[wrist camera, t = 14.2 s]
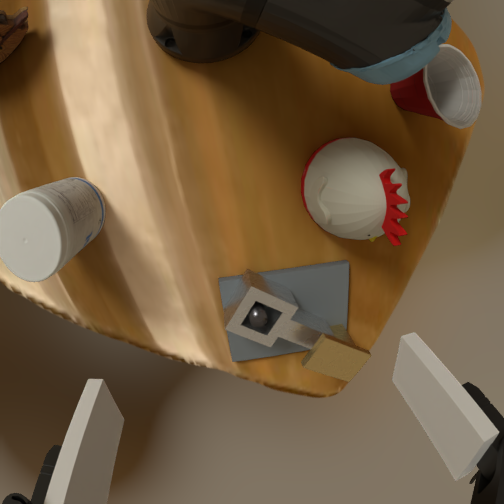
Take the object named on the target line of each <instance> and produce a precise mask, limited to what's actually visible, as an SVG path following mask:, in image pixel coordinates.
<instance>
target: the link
mask: <svg viewBox="0 0 504 504" xmlns="http://www.w3.org/2000/svg"><path fill="white" fill-rule="evenodd" d="M255 301H258V302H260V303H262V304H265V305H267V307H266V309H265V311H266V315H267V319H268V320H267V323H266V324H265V325H264V326H262V327H255V326H253V325H252V324H251V323H250V318H249V313H248V312H249V311H250V309H251V308H252V306H253V304H254V303H255ZM224 324H225V330H228V331H230V332H233V333H235V334H237V335H240V336H242V337H245V338H248V339H250V340H253V341H255V342H258V343H260V344H263V345H266V346H268V347H271V346H272V345H273V344H274V342H275V341H276V339H277V338H278V337H280V338H283V339H286V340H288V341H291V342H293V343H296V344H299V345H301V346H304V347H306V348H309V349H311V348H312V347H313V346H314V344H315V343H316V342H317V340H318V339H319V338H320V336H321V335H322V334H323V333H325V334H328V335H330V336H333V337H335V336H334V334H333V332H332V330H331V329H330V327H329V325H328V323H327V322H326V320H325V319H324V318H322V317H320V316H317V315H315V314H313V313H311V312H308V311H306V310H304V309H302V308H299V307H298V305H297V303H296V301H295V299H294V297H293V295H292V293H291V291H290V289H289V288H287V287H285V286H283V285H280V284H278V283H276V282H274V281H272V280H270V279H268V278H266V277H264V276H262V275H259V274H257V273H255V272H253V271H251V270H249V269H247V270H246V271H245V273H244V275H243V276H242V278H241V280H240V281H239V283H238V285H237V287H236V288H235V290H234V292H233V293H232V295H231V297H230V298H229V300H228V302H227V303H226V305H225V307H224ZM335 338H336V337H335Z"/></svg>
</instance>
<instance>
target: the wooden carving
mask: <svg viewBox="0 0 504 504" xmlns="http://www.w3.org/2000/svg"><path fill="white" fill-rule="evenodd" d="M27 10H28V7H23V8H21V9H20V10H18V11H17V12H16V13H15V14H14V15H6V13H5V12H4V11H2V10H0V63H1V62H2V61H4V60H5V59H6V58H7V57H8V56H9V55H10V54H11V53H12V52H13V50H15V48H16V47H17V46H18V45H19V44H20V42H21V41H22V39H23V37H24V36H25V34H26V32H27V30H28V23H27V22H28V21H27V18H28V12H27Z"/></svg>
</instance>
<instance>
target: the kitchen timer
mask: <svg viewBox="0 0 504 504" xmlns="http://www.w3.org/2000/svg"><path fill="white" fill-rule="evenodd" d="M407 176H408V175H407V171H406V169H405V168H400V167H399V166H398V164H397V163H396V162H395V161H394V160H393V158H392V157H391V156H390V155H389V154H388V153H387V152H385V151H384V150H383V149H381V148H380V147H378V146H376V145H375V144H373V143H372V142H369V141H366V140H362V139H358V138H338V139H335V140H332V141H330V142H327V143H325V144H323V145H322V146H321V147H320V148H319V149H317V150H316V151H315V152H314V153H313V154H312V156H311V158H310V159H309V161H308V162H307V164H306V166H305V169H304V172H303V175H302V178H301V195H302V199H303V202H304V206H305V208H306V210H307V212H308V213H309V215H310V217H311V218H312V219H313V220H314V221H315V222H316V223H317V224H318V225H319V226H320V227H322V228H323V229H324V230H325V231H327V232H329V233H331V234H334V235H336V236H338V237H341V238H348V239H356V240H365V239H369V240H370V241H371V242H373V241H374V240H375V239H376V238H377V237H379V236H381V235H383V234H386V236H387V237H388V239H389V240H390V242H391V243H392V245H393V246H397V245H401V243H400V240H399V238H398V236H403V235H407V233H406V231H405V230H404V229H403V228H402V226H401V225H400V224H399V223H398V222H399V221H400V219H402V218H408V216H407V215H406V214H405V213H404V212H406V211H407V210H408V209H409V207H410V197H409V194H408V189H407ZM397 235H398V236H397Z"/></svg>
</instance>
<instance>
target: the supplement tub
mask: <svg viewBox="0 0 504 504" xmlns="http://www.w3.org/2000/svg"><path fill="white" fill-rule="evenodd" d="M105 214H106V210H105V203H104V200H103V197H102V195H101V193H100V191H99V190H98V189H97V187H96V186H95V185H94V184H92V183H91V182H90V181H88V180H86V179H83V178H79V177H72V178H67V179H63V180H60V181H57V182H53V183H50V184H47V185H43V186H40V187H37V188H34V189H31V190H28V191H25V192H22V193H20V194H18V195H16V196H14V197H13V198H11V199H9V200H8V201H7V202H6V203H5V204H4V205H3V206H2V208H1V209H0V257H1V259H2V260H3V262H4V264H5V265H6V266H7V268H8V269H9V270H10V271H11V272H12V273H13V274H15V275H16V276H17V277H19V278H21V279H23V280H26V281H29V282H40V281H43V280H45V279H47V278H49V277H50V276H52V275H54V274H55V273H56V272H57V271H59V270H60V269H61V268H62V267H63V266H64V265H65V264H66V263H67V262H68V261H70V260H71V259H72V258H73V257H74V256H75V255H76V254H77V253H78V252H79V251H80V250H82V249H83V248H84V247H85V246H86V245H87V244H88V243H89V242H90V241H92V240H93V239H94V238H95V237H96V236H97V235H98V234H99V232H100V230H101V229H102V226H103V224H104V221H105Z"/></svg>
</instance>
